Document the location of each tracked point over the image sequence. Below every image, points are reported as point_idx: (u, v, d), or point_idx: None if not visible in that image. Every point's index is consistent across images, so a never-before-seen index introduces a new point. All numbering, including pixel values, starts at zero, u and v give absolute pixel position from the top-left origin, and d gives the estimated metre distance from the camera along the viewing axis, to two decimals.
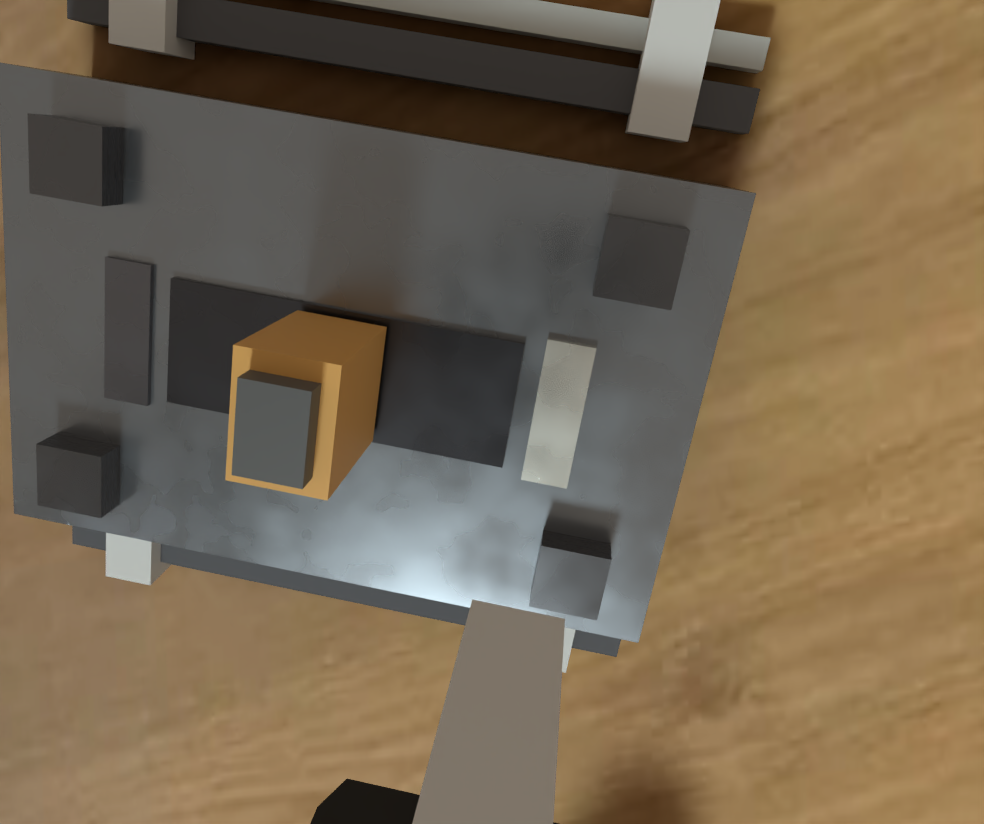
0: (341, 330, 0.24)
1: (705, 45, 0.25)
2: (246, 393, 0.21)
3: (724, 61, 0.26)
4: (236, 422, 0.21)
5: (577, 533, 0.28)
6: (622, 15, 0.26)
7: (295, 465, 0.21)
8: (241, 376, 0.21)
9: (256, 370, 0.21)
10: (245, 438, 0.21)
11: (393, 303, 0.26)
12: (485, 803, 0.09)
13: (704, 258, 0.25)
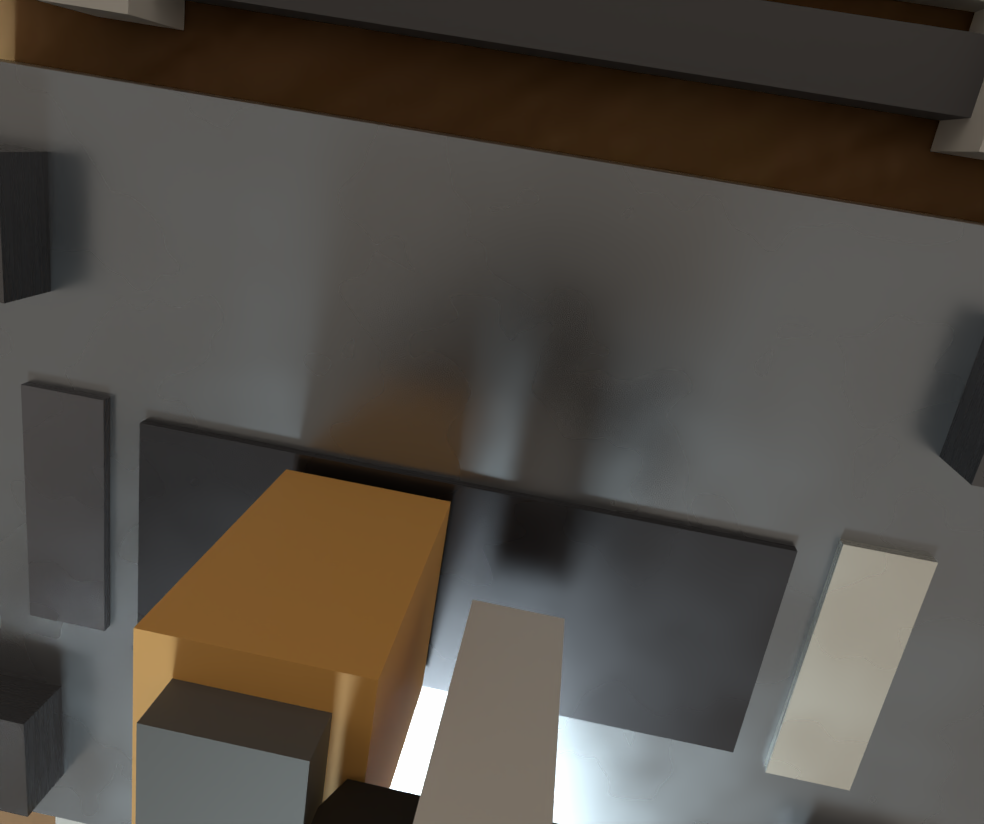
0: (369, 528, 0.13)
1: None
2: (160, 756, 0.09)
3: None
4: (139, 811, 0.09)
5: None
6: None
7: None
8: (147, 716, 0.09)
9: (187, 681, 0.10)
10: None
11: (548, 472, 0.14)
12: (486, 803, 0.09)
13: None
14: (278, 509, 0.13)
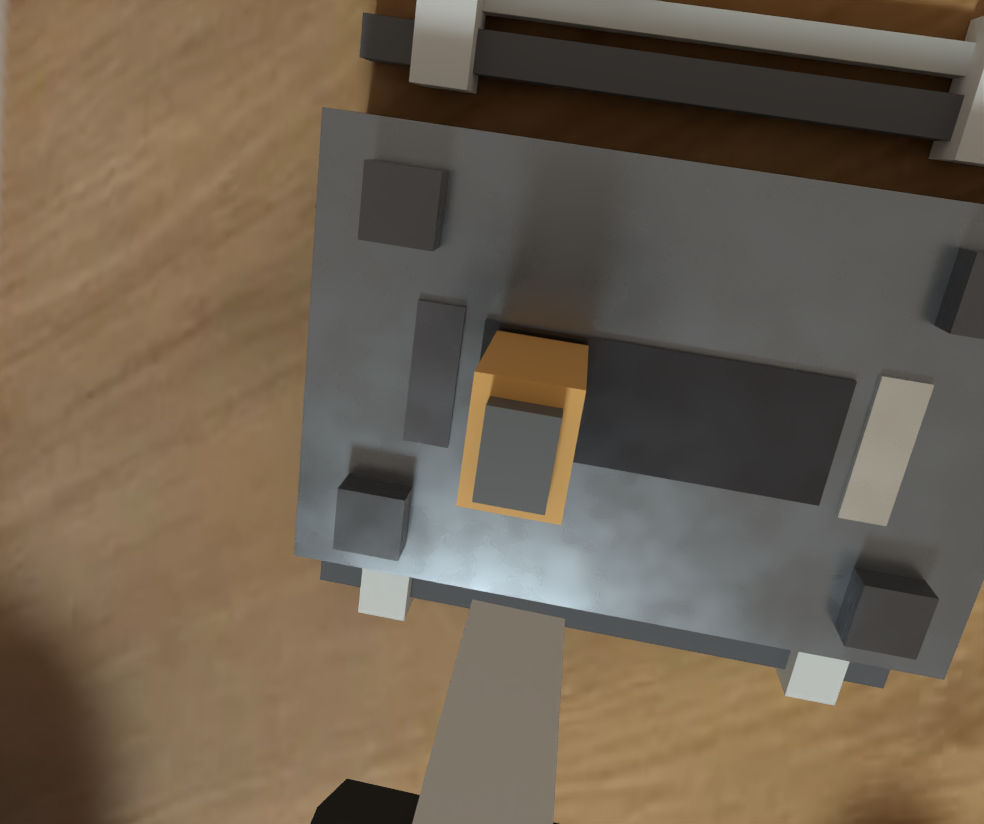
0: (553, 351, 0.24)
1: None
2: (494, 421, 0.21)
3: None
4: (481, 449, 0.21)
5: (890, 570, 0.27)
6: (947, 40, 0.26)
7: (539, 491, 0.21)
8: (488, 403, 0.21)
9: (496, 396, 0.21)
10: (489, 465, 0.21)
11: (717, 341, 0.26)
12: (486, 803, 0.09)
13: None
14: (504, 343, 0.24)
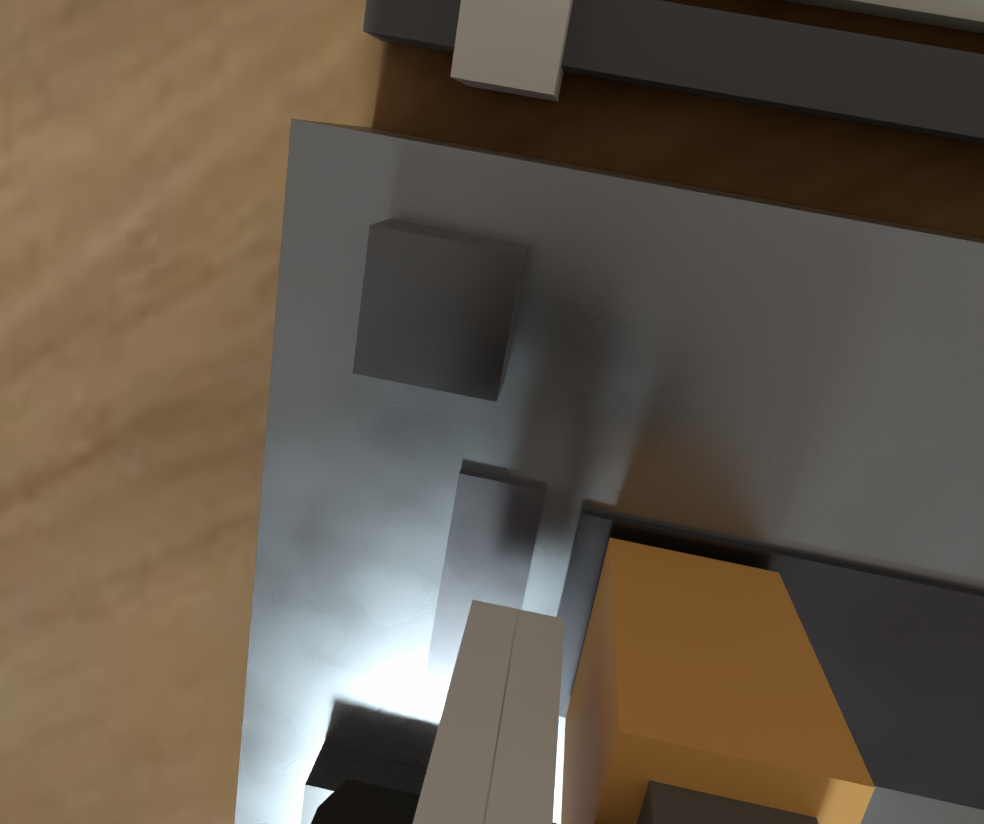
0: (732, 605, 0.13)
1: None
2: None
3: None
4: None
5: None
6: None
7: None
8: None
9: (665, 783, 0.10)
10: None
11: None
12: (485, 803, 0.09)
13: None
14: (637, 585, 0.13)
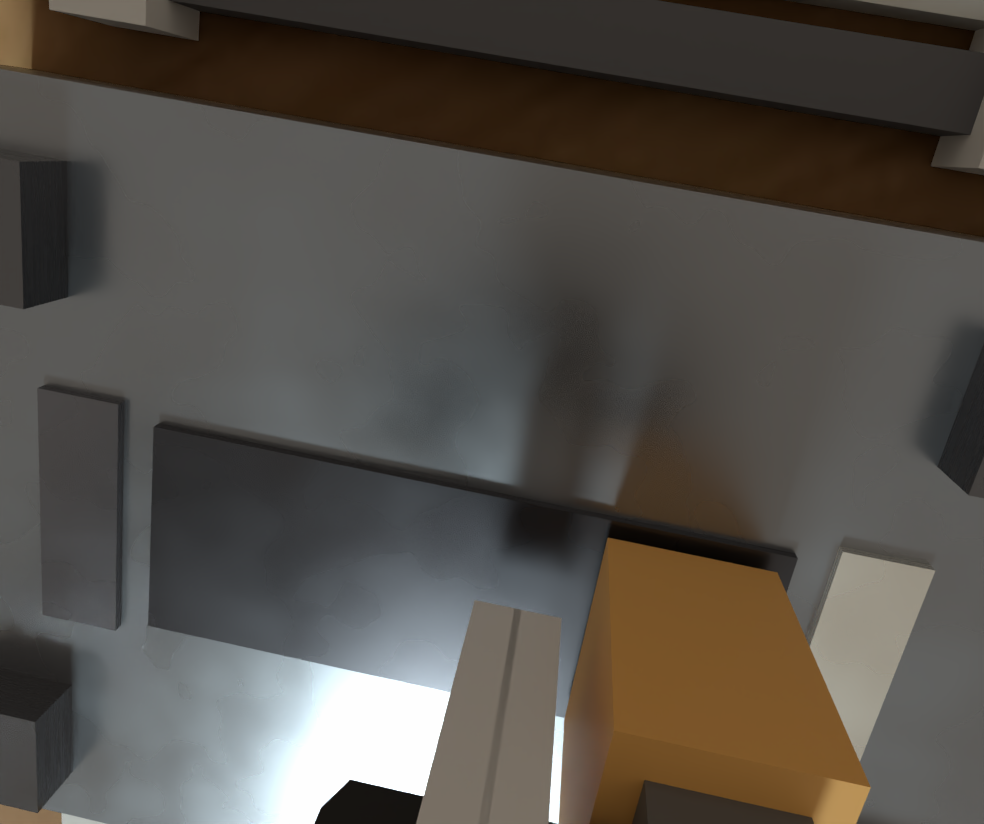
0: (730, 605, 0.13)
1: None
2: None
3: None
4: None
5: None
6: None
7: None
8: None
9: (660, 783, 0.10)
10: None
11: (554, 478, 0.14)
12: (489, 804, 0.09)
13: None
14: (635, 585, 0.13)
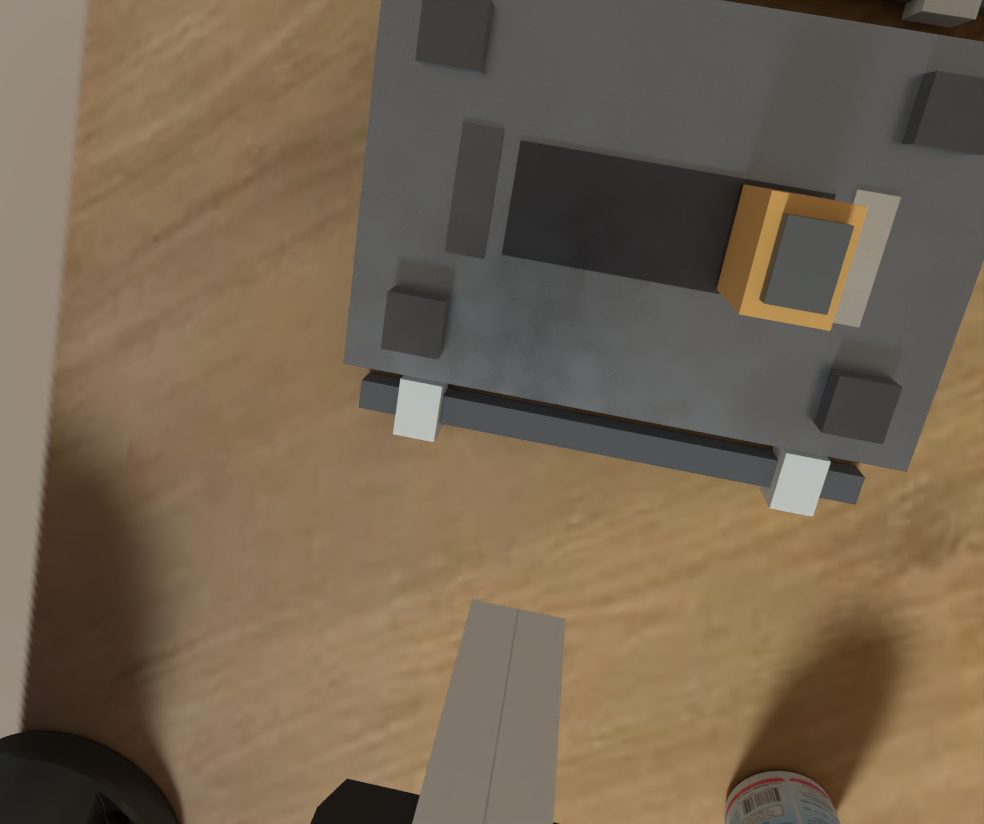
0: (805, 195, 0.28)
1: None
2: (794, 229, 0.24)
3: None
4: (779, 255, 0.25)
5: (862, 370, 0.32)
6: None
7: (825, 293, 0.25)
8: (789, 214, 0.24)
9: (789, 213, 0.25)
10: (783, 269, 0.25)
11: (719, 160, 0.30)
12: (486, 803, 0.09)
13: None
14: None
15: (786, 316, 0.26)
